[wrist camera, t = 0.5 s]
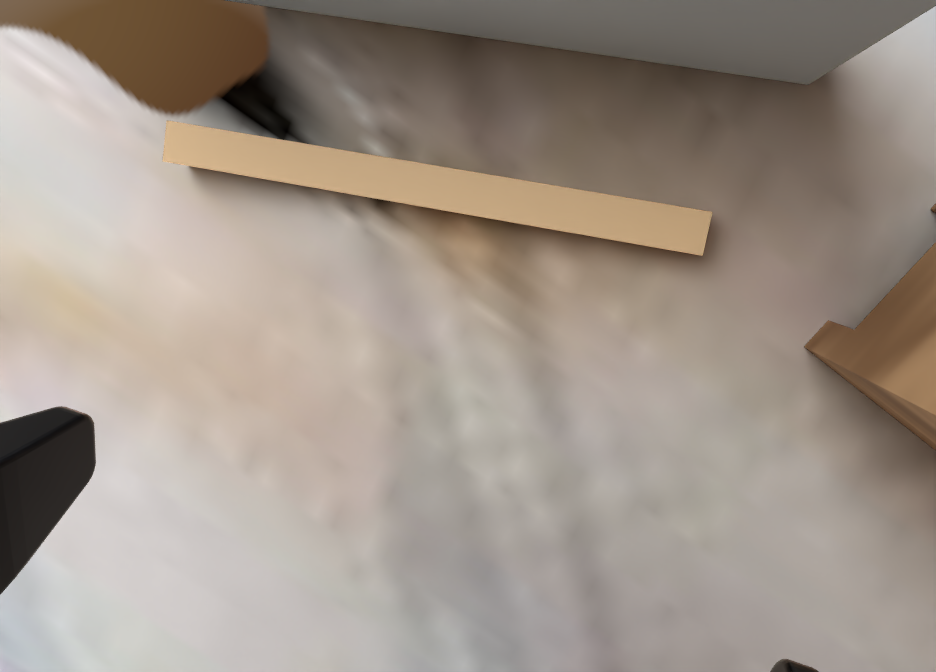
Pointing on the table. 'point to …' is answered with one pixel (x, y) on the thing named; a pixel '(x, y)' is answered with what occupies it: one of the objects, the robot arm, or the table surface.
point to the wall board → (577, 29)
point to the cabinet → (893, 350)
